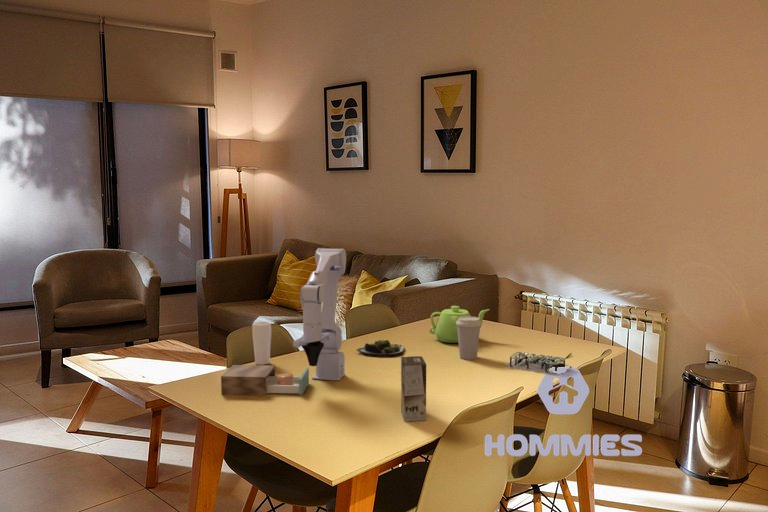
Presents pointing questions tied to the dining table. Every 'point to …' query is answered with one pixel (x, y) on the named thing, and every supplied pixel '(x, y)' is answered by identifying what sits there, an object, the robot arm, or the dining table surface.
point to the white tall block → (261, 342)
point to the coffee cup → (468, 337)
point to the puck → (285, 379)
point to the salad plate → (381, 349)
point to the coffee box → (413, 388)
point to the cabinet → (246, 379)
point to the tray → (297, 386)
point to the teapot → (450, 323)
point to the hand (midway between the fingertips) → (313, 365)
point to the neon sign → (536, 363)
